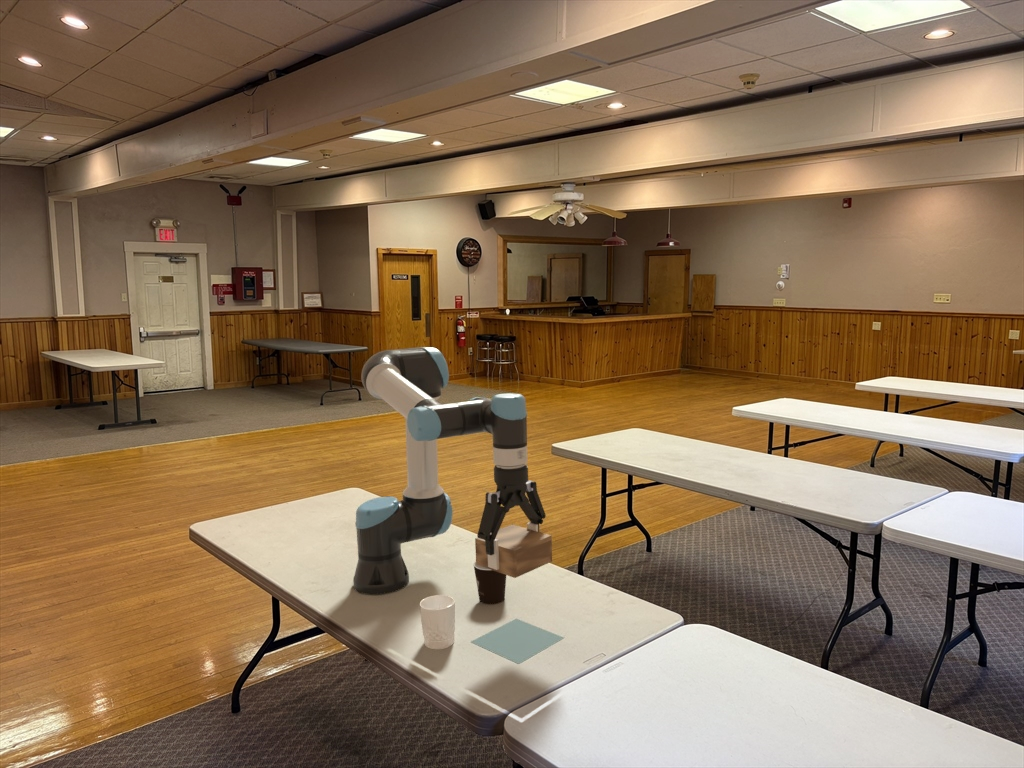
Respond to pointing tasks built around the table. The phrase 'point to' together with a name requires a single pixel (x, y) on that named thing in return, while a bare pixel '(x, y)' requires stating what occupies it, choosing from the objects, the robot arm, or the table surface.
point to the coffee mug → (490, 585)
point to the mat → (517, 640)
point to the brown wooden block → (517, 550)
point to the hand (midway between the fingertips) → (514, 559)
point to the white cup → (438, 621)
